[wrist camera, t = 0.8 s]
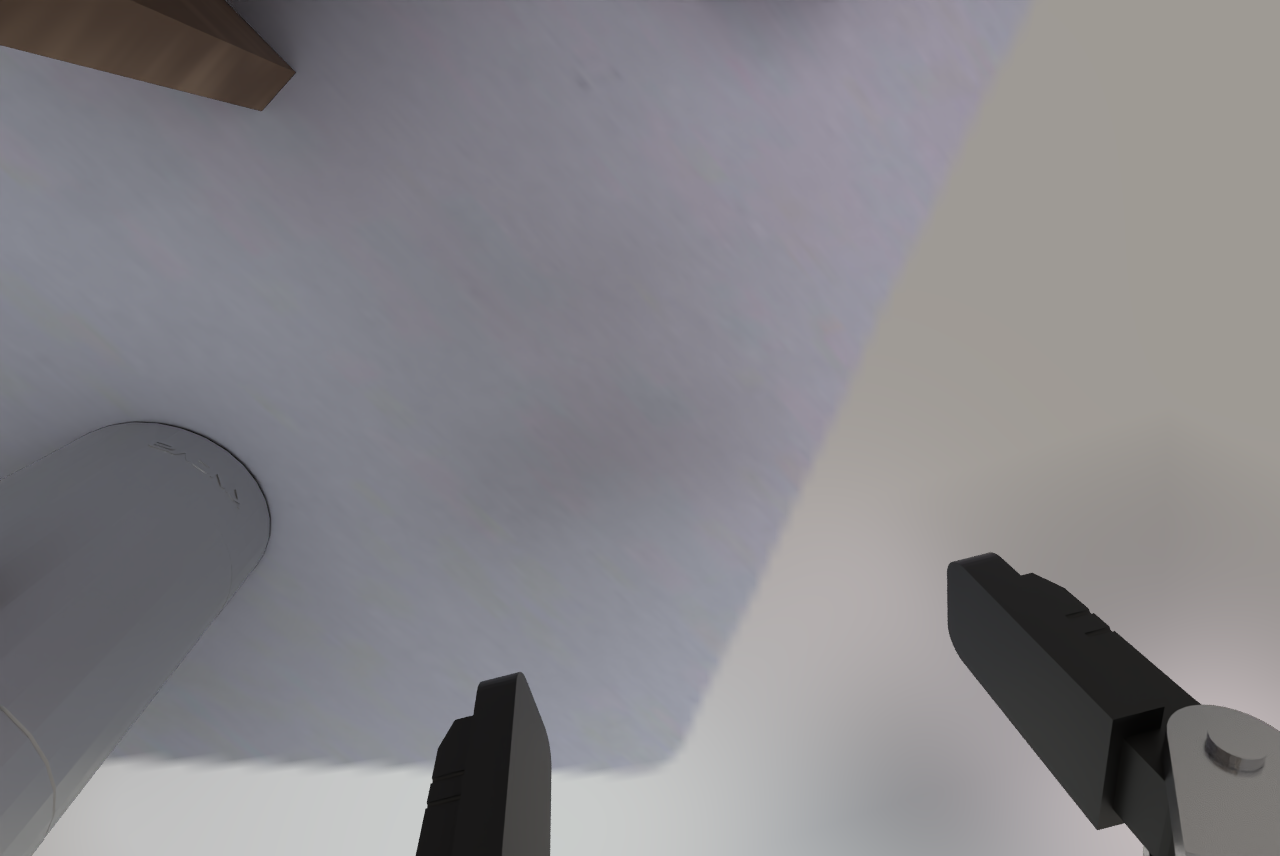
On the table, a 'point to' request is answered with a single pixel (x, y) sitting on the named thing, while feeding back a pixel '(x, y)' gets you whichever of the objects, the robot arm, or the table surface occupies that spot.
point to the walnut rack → (153, 44)
